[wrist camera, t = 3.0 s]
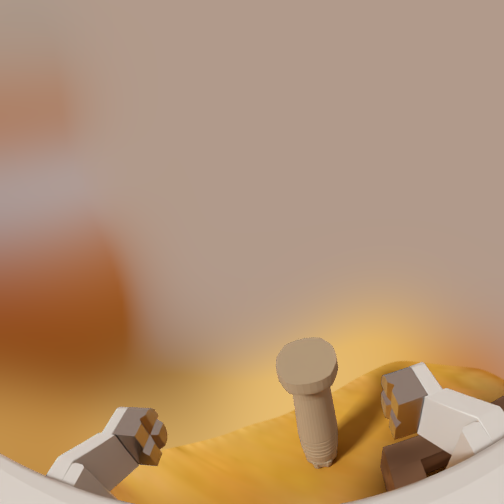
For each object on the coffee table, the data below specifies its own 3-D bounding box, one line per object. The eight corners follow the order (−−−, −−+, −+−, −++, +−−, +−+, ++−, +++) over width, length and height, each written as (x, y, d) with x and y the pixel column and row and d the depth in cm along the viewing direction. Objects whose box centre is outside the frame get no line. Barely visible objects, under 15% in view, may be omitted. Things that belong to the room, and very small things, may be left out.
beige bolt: (340, 434, 28) (329, 333, 25) (347, 476, 22) (342, 376, 19) (299, 442, 29) (276, 343, 25) (301, 484, 23) (275, 389, 19)
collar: (554, 503, 4) (574, 483, 3) (406, 589, 6) (417, 584, 5) (500, 415, 20) (509, 392, 19) (380, 466, 22) (382, 447, 21)
